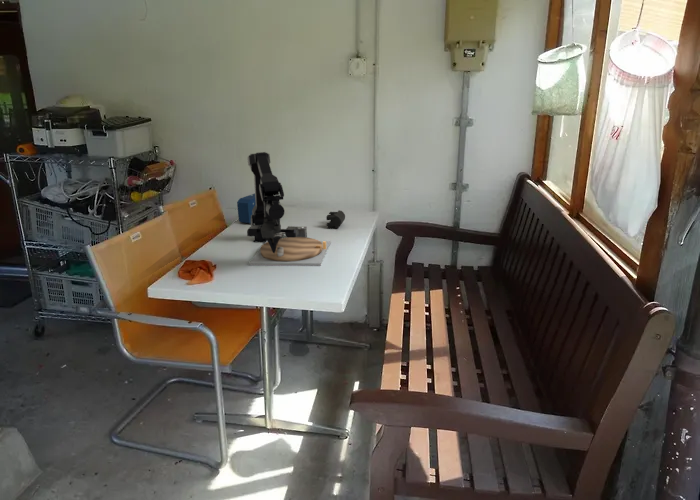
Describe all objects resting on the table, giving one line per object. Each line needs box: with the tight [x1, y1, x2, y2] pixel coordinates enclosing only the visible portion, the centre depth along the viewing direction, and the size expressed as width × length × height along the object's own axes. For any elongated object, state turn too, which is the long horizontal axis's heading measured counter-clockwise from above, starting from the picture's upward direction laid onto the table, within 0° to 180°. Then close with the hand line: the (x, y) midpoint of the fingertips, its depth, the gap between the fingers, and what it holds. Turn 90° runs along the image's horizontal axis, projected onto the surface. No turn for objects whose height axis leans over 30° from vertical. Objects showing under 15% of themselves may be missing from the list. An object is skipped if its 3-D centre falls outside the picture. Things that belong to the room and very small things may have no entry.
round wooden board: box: [259, 237, 323, 261], centre depth 220 cm, size 25×25×5 cm
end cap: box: [325, 209, 346, 230], centre depth 256 cm, size 10×7×7 cm
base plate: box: [248, 240, 332, 267], centre depth 220 cm, size 28×28×4 cm
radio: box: [236, 193, 255, 225], centre depth 271 cm, size 21×9×20 cm, turn 152°
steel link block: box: [286, 226, 308, 238], centre depth 240 cm, size 8×4×5 cm, turn 84°
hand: (274, 252), depth 209 cm, fingers closed
